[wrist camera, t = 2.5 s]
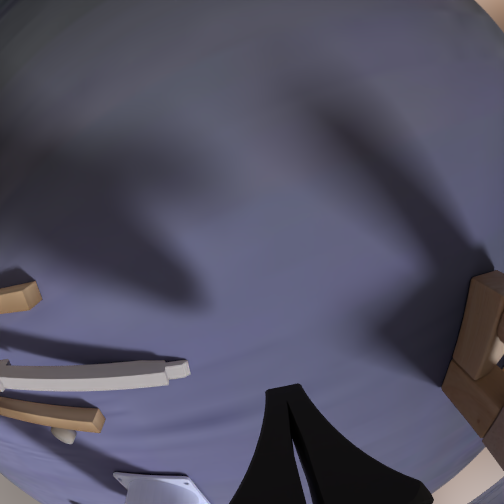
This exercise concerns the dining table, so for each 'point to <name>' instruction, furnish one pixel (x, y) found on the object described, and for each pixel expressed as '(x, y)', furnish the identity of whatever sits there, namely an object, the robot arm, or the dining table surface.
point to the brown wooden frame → (481, 363)
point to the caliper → (92, 376)
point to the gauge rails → (44, 414)
